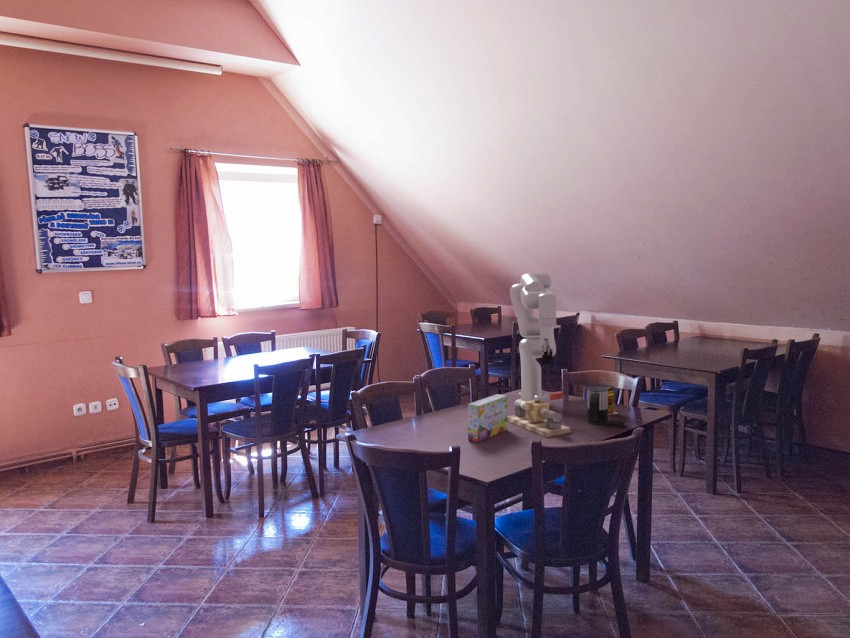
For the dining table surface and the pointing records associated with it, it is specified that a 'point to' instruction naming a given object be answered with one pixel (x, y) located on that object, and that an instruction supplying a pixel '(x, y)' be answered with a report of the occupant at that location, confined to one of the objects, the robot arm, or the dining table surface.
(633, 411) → the dining table surface
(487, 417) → the snack box
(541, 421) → the valve stand
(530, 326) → the robot arm
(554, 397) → the valve lever
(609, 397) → the condiment
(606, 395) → the milk frother
